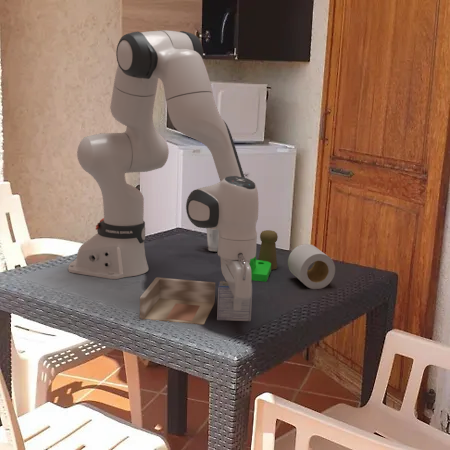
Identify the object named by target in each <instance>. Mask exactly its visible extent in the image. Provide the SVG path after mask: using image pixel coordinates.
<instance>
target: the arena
mask: <svg viewBox="0 0 450 450" xmlns="http://www.w3.org/2000/svg"><path fill="white" fill-rule="evenodd" d="M215 302H216V282H213V281H203V280H191V279H179V278H178V279H177V278H168V277H158V276H156V277H155V278H154V280H153V281H151V283H150V285H148V287H147V288H146V289H145V291H144V292H143V293H142V294H141V296H140V297H139V319H140V318H142V319H141V320H145V319H151V320H150V321H156V320H159V321H158V322H167V321H169V322H170V323H177V322H179V324H187V325H189V324H191V325H200V326H201V325H203V326H205V324H206V322H207V320H208V317H209V316H210V313H211V311H212V309H213V308H214V306H215ZM169 322H168V323H169Z"/></svg>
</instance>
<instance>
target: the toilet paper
mask: <svg viewBox="0 0 450 450" xmlns="http://www.w3.org/2000/svg"><path fill="white" fill-rule="evenodd" d="M312 264H313V265H312ZM311 265H312V267H311V268H310V269H309V267H310V266H311ZM287 266H288V270H289V272H291V274H292V275H293V276H295V278H296V279H298V280H299V281H300V282H301V283H302V284H303V285H304V286H306V287H307V288H309V289H311V290H317V289H319V290H320V289H324V288H326V287H328V285H329V284H330V283H331V282H332V281H333V279H334V277H335V273H336V265H335V262H334V261H333V259H332V258H331V257H330V256H328V255H327V254H326V253H324V252H323V251H322V250H320V249H319V248H318V247H316V246H315V245H313V244H310V243H303V244H300V245H298V246H296V247H294V249H292V251H291V252H290V254H289V255H288V258H287Z"/></svg>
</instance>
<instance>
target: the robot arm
mask: <svg viewBox="0 0 450 450" xmlns="http://www.w3.org/2000/svg"><path fill="white" fill-rule="evenodd" d="M116 46H117V47H116V50H115V51H116V53H115V54H116V56H115V57H116V61H117V68H116V71H115V72H116V73H115V75H114V82H113V87H112V95H111V100H110V113H111V115H112V117H113V118H114V119H115V120H116V121H117V122H119V123H120V124H121V125H123V126H125V127H126V128H125V131H124V132H107V133H105V132H101V133H96V134H91V135H87V136H85V137H83V138H82V139H81V141H79V144H78V146H77V151H76V152H77V153H76V157H77V160H78V163H79V165H80V167H81V168H82V169H83V170H84V171H85V172H86V173H87V174H89V175H90V176H91V177H92V178H93V179H94V180H95V182H96V183H97V185H98V186H99V189H100V192H101V195H102V203H103V205H102V206H103V207H102V208H103V218H101V219H100V220H99V222H97V224H96V225H95V231H96V234H95V235H93V236H92V237H91V238H89V239H88V240H86V241H85V242H84V243H82V244H81V245H80V247H79V248H78V250H77V253H76V259H74V260H73V261H71V262H70V263H69V264H68V269H67V270H68V272H69V273H73V274H80V275H85V276H91V277H96V278H104V279H108V280H110V279H111V280H119V279H122V278H129V277H136V276H141V275H143V274H145V273H147V272H148V271H149V265H148V262H147V258H146V251H145V239H146V222H145V220H144V214H145V213H144V203H145V201H144V199H145V198H144V196H143V193H142V192H141V191H140V189H138V188H137V187H135V186H133V185H131V184H129V183H127V181H126V174H130V173H145V172H146V173H147V172H152V171H154V170H155V171H156V170H159V169H162V168H163V167H164V166H165V165H166V163H167V161H168V158H169V153H170V151H169V146H168V143H167V141H166V139H165V138H164V137H163V136H162V135H161V134H160V133H159V132H158V131H157V130H156V128H155V125H154V118H153V116H154V109H155V107H154V106H155V101H156V94H157V88H158V83H159V82H158V81H159V80H161V82H162V84H163V89H164V96H165V101H166V108H167V113H168V117H169V120H170V122H171V124H172V126H173V127H174V128H175V129H176V131H178V132H179V133H181V134H182V135H185V136H186V137H189V138H192V139H194V140H196V141H198V142H200V144H201V143H202V145H204V146H205V147H206V148H207V149H208V150H209V152H210V153H211V156H212V159H213V162H214V165H215V169H216V171H217V175H218V179H219V182H217V183H214V184H211V185H208V186H203V187H200V188H199V187H198V188H196V189H194V190H192V191H191V192H190V193H189V195H188V196H187V198H186V202H185V203H186V204H185V210H186V211H185V212H186V215H187V217H188V220H189V221H190V222H191V223H192V225H194V226H195V227H196V228H199V229H206V228H217V229H218V231H219V234H218V251H217V256H218V257H219V258H220V270H221V274H222V275H223V278H224V280H225V281H226V282H227V284H228V286H229V288H230V290H231V292H232V294H233V296H234V299H233V309H234V310H235V311H240V310H241V303H242V300H249V299H250V297H251V283H252V280H251V267H250V265H249V263H250V259H253V258H254V257H255V256H256V257H257V242H258V241H257V239H258V232H257V228H256V226H257V222H258V219H259V192H258V187H257V185H256V183H255V182H254V181H253V180H251V179H249V178H247V177H245V174H244V171H243V168H242V165H241V162H240V158H239V156H238V152H237V148H236V145H235V142H234V139H233V136H232V134H231V133H232V132H231V130H230V127H229V126H228V124H227V122H226V121H225V120H224V119H223V117H222V116H221V114H220V112H219V109H218V108H217V105H216V102H215V98H214V94H213V87H212V84H211V81H210V76H209V73H208V70H207V67H206V65H205V63H204V60H203V59H204V48H203V45H202V41H201V40H200V38H199V37H198V36H197V35H196V34H194V33H191V32H189V31H184V30H181V31H175V30H166V29H164V30H163V29H160V30H152V31H149V30H148V31H141V32H140V31H132V32H129V33H126V34H124V35H122V36H121V37H120V39H119V41H118V42H117V45H116Z"/></svg>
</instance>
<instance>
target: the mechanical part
mask: <svg viewBox="0 0 450 450" xmlns="http://www.w3.org/2000/svg"><path fill="white" fill-rule="evenodd" d="M249 265H250V267H251V281H253V282H254V281H255V282H265V283H267V281H268V279H269V276H270V274H271V271H272V270H271V263H270V262H268V261H262V260H258V259H257V255H256V256H255V257H254V258H253V259H250V263H249Z"/></svg>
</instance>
